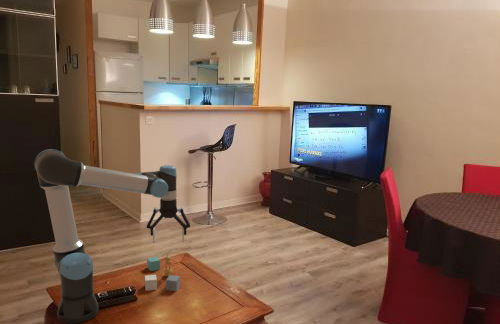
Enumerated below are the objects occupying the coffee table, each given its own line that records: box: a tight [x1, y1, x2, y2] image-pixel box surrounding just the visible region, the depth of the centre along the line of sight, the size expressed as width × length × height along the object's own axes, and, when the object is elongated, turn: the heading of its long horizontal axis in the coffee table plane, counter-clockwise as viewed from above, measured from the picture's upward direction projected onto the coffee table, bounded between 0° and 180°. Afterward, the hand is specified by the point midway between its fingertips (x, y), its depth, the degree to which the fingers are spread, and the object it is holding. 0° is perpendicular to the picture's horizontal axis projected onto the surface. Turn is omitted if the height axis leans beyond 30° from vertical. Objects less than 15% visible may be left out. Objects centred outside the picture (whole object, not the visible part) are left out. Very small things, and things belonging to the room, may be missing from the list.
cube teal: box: [146, 256, 161, 272], centre depth 201 cm, size 5×5×5 cm
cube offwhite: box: [144, 274, 158, 292], centre depth 181 cm, size 5×5×5 cm
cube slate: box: [165, 274, 181, 292], centre depth 182 cm, size 5×5×5 cm
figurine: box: [159, 254, 177, 278], centre depth 191 cm, size 8×6×12 cm
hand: (168, 241), depth 189 cm, fingers open, 13 cm apart
